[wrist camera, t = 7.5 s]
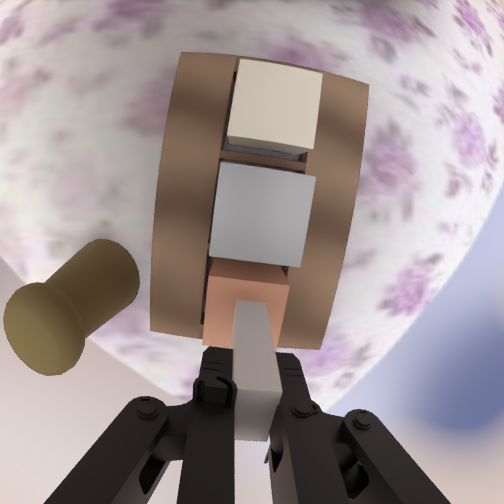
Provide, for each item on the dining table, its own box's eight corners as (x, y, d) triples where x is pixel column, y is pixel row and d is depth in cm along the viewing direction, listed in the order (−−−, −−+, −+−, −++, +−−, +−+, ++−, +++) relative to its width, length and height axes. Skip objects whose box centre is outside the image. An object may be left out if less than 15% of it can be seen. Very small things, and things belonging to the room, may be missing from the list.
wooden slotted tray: (186, 62, 17) (181, 52, 15) (358, 91, 18) (369, 84, 16) (156, 318, 22) (150, 330, 20) (314, 336, 23) (319, 349, 21)
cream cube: (240, 81, 16) (240, 58, 13) (306, 92, 17) (322, 73, 13) (229, 144, 18) (226, 135, 14) (298, 155, 18) (313, 149, 14)
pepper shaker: (142, 246, 20) (65, 308, 10) (138, 317, 22) (81, 407, 11) (76, 233, 20) (-19, 276, 9) (76, 300, 21) (2, 369, 11)
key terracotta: (214, 256, 19) (208, 275, 16) (280, 264, 20) (289, 285, 16) (208, 315, 20) (202, 344, 17) (269, 322, 21) (275, 352, 17)
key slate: (225, 165, 17) (220, 161, 13) (299, 176, 17) (316, 176, 13) (215, 238, 18) (208, 255, 14) (287, 248, 18) (300, 267, 14)
